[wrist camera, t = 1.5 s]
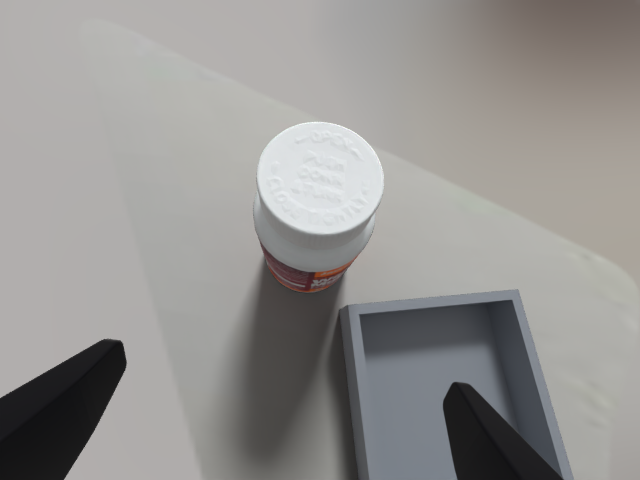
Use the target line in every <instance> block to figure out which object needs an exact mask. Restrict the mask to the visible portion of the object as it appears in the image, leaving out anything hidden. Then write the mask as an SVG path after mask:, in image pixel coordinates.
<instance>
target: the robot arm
mask: <svg viewBox="0 0 640 480" xmlns="http://www.w3.org/2000/svg"><path fill="white" fill-rule="evenodd" d="M126 363H127V362H126V357H125V351H124V346H123V343H122V342H121V341H120V340H113V339H104V340H101V341H99V342H97V343H96V344H94V345H92V346H90V347H89V348H87V349H85V350H83V351H82V352H80V353H78V354H76V355H75V356H73V357H71V358H69V359H68V360H66V361H64V362H62V363H61V364H59V365H57V366H56V367H54V368H52V369H50V370H48V371H47V372H45V373H43V374H42V375H40V376H38V377H36V378H34V379H33V380H31V381H29V382H28V383H26V384H24V385H22V386H21V387H19V388H17V389H15V390H14V391H12V392H10V393H9V394H6V395H5V396H3V397H1V398H0V480H64V479H65V477H66V475H67V474H68V472H69V471H70V469H71V468H72V466H73V464H74V463H75V461H76V460H77V458H78V456H79V455H80V453H81V452H82V450H83V448H84V447H85V445H86V443H87V442H88V440H89V439H90V437H91V435H92V434H93V432H94V430H95V428H96V426H97V425H98V423H99V421H100V419H101V417H102V415H103V413H104V411H105V409H106V407H107V405H108V403H109V401H110V399H111V397H112V395H113V393H114V391H115V389H116V387H117V385H118V383H119V381H120V379H121V377H122V375H123V373H124V371H125V368H126ZM443 412H444V417H445V423H446V428H447V433H448V439H449V444H450V449H451V454H452V460H453V464H454V469H455V473H456V477H457V480H564V479H563V478H562V477H561V476H560V475H559V474H558V473H557V472H556V471H555V470H554V469H553V468H552V467H551V466H550V465H549V464H548V463H547V462H546V461H545V460H544V459H543V458H542V457H541V456H540V455H539V454H538V453H537V452H536V451H535V450H534V449H533V448H532V447H531V445H530V444H529V443H528V442H527V441H526V440H525V439H524V438H523V437H522V436H521V435H520V434H519V433H518V432H517V431H516V430H515V429H514V428H513V427H512V426H511V425H510V424H509V423H508V422H507V421H506V420H505V419H504V418H503V417H502V416H501V415H500V414H499V413H498V412H497V411H496V410H495V409H494V408H493V407H492V406H491V405H490V404H489V403H488V402H487V401H486V400H485V399H484V398H483V397H482V396H481V395H480V394H479V393H478V392H477V391H476V390H475V389H474V388H473V387H472V386H471V385H470V384H468V383H463V382H453V383H452V384H451V386H450V388H449V390H448V392H447V394H446V396H445V398H444V400H443Z"/></svg>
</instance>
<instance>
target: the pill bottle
mask: <svg viewBox="0 0 640 480" xmlns="http://www.w3.org/2000/svg"><path fill="white" fill-rule="evenodd" d="M256 182H257V189H258V190H257V192H256V196H255V200H254V206H253V216H254V225H255V229H256V232H257V235H258V238H259V240H260V244H261V247H262V250H263V253H264V256H265V259H266V262H267V264H268V267H269V269H270V271H271V272H272V274H273V275H274V277H275V278H276V279H277V280H278V281H279V282H280V283H281V284H283V285H284V286H286V287H287V288H290V289H292V290H294V291H298V292H305V293H310V292H317V291H321V290H324V289H326V288H328V287H330V286H331V285H333V284H334V283H335V282H336V281H337V280H338V279H339V278H340V277H341V276H342V275H343V274H344V272H345V271H346V270H347V269H348V268H349V267H350V265H351V264H352V262H353V261H354V260H355V259H356V257H357V256H358V255H359V254H360V253H361V251H362V250H363V249H364V247H365V246H366V244H367V243H368V241H369V239H370V237H371V235H372V232H373V229H374V225H375V215H376V213H375V211H376V210H377V208H378V206H379V204H380V201H381V199H382V195H383V190H384V175H383V170H382V166H381V163H380V161H379V159H378V157H377V155H376V153H375V152H374V150H373V149H372V147H371V146H370V145H369V144H368V143H367V142H366V141H365V140H364V139H363V138H361V137H360V136H359V135H357V134H356V133H354V132H353V131H351V130H349V129H347V128H345V127H342V126H340V125H336V124H332V123H326V122H309V123H303V124H298V125H295V126H293V127H290V128H288V129H286V130H284V131H283V132H281V133H280V134H278V135H277V136H276V137H275V138H273V139H272V140H271V141H270V142H269V144H268V145H267V146H266V148H265V149H264V151H263V153H262V155H261V157H260V159H259V162H258V166H257V173H256Z"/></svg>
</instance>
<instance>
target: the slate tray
mask: <svg viewBox="0 0 640 480" xmlns="http://www.w3.org/2000/svg"><path fill="white" fill-rule="evenodd" d="M339 313H340V321H341V330H342V339H343V348H344V356H345V365H346V374H347V383H348V392H349V400H350V409H351V418H352V427H353V436H354V444H355V453H356V462H357V471H358V480H457V477H456V473H455V469H454V464H453V460H452V454H451V449H450V444H449V439H448V433H447V428H446V423H445V417H444V412H443V400H444V398H445V396H446V394H447V392H448V390H449V388H450V386H451V384H452V383H453V382H463V383H468V384H470V385H471V386H472V387H473V388H474V389H475V390H476V391H477V392H478V393H479V394H480V395H481V396H482V397H483V398H484V399H485V400H486V401H487V402H488V403H489V404H490V405H491V406H492V407H493V408H494V409H495V410H496V411H497V412H498V413H499V414H500V415H501V416H502V417H503V418H504V419H505V420H506V421H507V422H508V423H509V424H510V425H511V426H512V427H513V428H514V429H515V430H516V431H517V432H518V433H519V434H520V435H521V436H522V437H523V438H524V439H525V440H526V441H527V442H528V443H529V444H530V445H531V447H532V448H533V449H534V450H535V451H536V452H537V453H538V454H539V455H540V456H541V457H542V458H543V459H544V460H545V461H546V462H547V463H548V464H549V465H550V466H551V467H552V468H553V469H554V470H555V471H556V472H557V473H558V474H559V475H560V476H561V477H562V478H563V479H564V480H574V478H573V475H572V471H571V468H570V465H569V461H568V458H567V454H566V451H565V448H564V444H563V441H562V437H561V434H560V430H559V427H558V424H557V420H556V417H555V413H554V410H553V407H552V403H551V400H550V396H549V393H548V389H547V386H546V383H545V379H544V376H543V372H542V369H541V366H540V362H539V359H538V355H537V352H536V348H535V345H534V342H533V338H532V335H531V331H530V328H529V325H528V321H527V318H526V314H525V311H524V307H523V304H522V301H521V297H520V294H519V290H518V289H516V290H505V291H494V292H483V293H472V294H461V295H451V296H440V297H429V298H418V299H407V300H396V301H385V302H374V303H364V304H353V305H347V306H345V307H343V308H342V309H340V310H339Z"/></svg>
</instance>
